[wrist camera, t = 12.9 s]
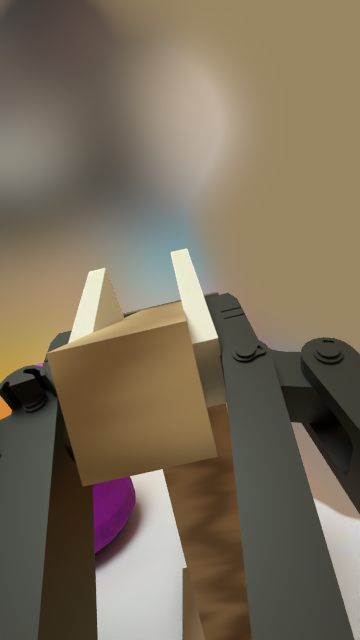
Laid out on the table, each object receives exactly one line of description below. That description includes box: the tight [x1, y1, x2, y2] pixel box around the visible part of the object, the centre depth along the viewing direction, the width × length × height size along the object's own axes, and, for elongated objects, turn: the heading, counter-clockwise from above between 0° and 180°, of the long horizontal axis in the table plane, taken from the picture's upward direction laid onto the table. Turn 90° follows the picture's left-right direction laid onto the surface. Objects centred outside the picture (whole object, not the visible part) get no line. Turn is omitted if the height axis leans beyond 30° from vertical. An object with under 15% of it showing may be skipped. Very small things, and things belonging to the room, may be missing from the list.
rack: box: [163, 403, 252, 640], centre depth 33 cm, size 12×12×28 cm
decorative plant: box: [37, 363, 135, 553], centre depth 51 cm, size 19×18×30 cm
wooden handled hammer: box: [46, 293, 219, 486], centre depth 16 cm, size 8×19×3 cm, turn 0°
